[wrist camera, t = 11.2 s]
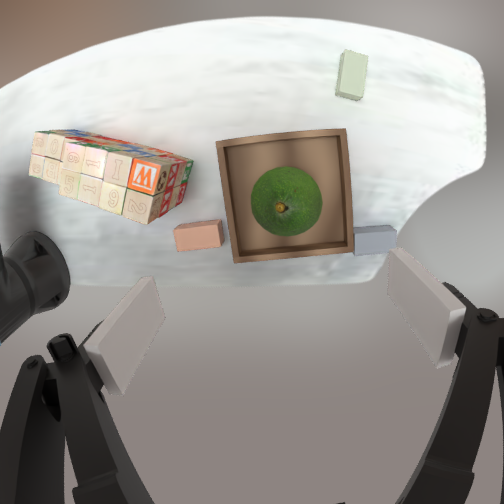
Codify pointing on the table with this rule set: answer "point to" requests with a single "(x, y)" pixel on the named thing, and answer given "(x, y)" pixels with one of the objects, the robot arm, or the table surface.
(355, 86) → the sage brick
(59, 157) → the stack of blocks
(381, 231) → the slate brick
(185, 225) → the terracotta brick
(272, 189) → the fruit
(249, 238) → the tray
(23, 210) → the table surface
